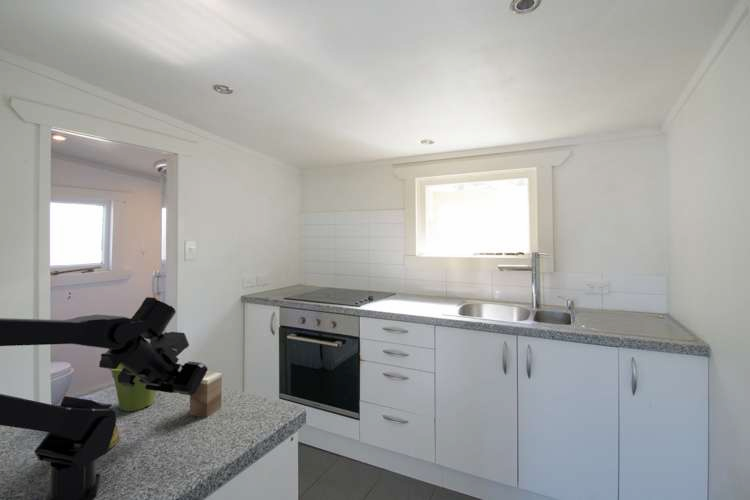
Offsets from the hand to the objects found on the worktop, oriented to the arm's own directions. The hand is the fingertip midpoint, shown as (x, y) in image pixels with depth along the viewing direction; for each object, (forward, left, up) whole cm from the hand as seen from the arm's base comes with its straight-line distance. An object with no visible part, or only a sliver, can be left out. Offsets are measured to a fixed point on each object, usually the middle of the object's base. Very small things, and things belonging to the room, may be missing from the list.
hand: (184, 390), depth 80 cm
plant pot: (+17, +9, -8) cm, 21 cm away
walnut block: (+5, -5, -8) cm, 11 cm away
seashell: (-1, +16, -8) cm, 18 cm away
